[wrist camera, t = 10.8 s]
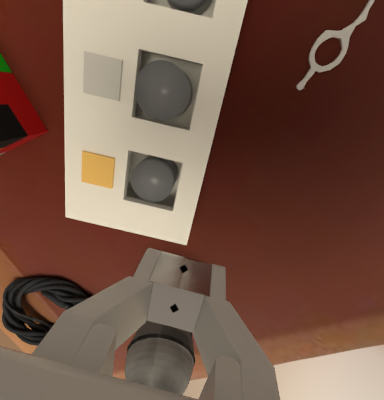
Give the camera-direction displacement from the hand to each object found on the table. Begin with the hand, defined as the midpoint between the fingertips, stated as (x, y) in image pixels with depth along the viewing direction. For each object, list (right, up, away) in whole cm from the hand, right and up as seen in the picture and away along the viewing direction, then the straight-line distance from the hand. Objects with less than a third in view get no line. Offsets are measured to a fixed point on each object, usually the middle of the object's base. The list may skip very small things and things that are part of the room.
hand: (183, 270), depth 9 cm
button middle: (-2, +13, +13) cm, 18 cm away
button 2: (-3, +6, +18) cm, 19 cm away
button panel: (-4, +15, +16) cm, 22 cm away
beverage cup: (-2, -9, +26) cm, 28 cm away
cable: (-22, -15, +31) cm, 41 cm away
